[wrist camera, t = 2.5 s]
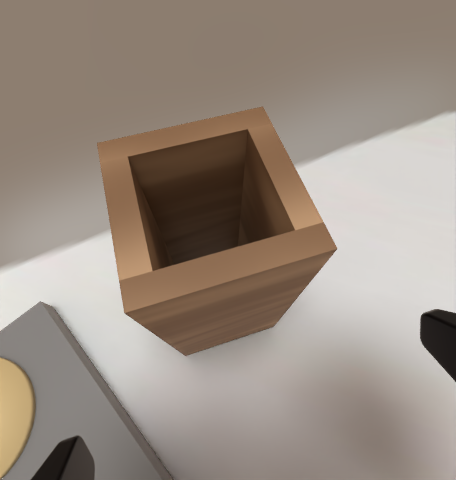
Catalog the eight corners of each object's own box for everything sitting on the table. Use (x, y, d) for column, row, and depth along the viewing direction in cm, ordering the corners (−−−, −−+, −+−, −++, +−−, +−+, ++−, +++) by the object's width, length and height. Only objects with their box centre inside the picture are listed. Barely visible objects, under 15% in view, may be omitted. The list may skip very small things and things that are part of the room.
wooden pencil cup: (273, 326, 20) (337, 248, 8) (185, 355, 19) (124, 312, 8) (244, 248, 22) (262, 106, 11) (165, 270, 21) (97, 143, 10)
